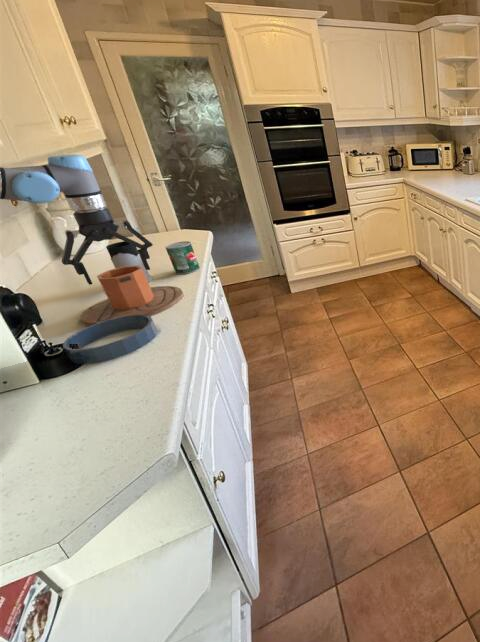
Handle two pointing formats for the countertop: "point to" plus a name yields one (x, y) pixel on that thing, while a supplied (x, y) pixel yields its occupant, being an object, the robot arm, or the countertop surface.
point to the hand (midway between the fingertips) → (120, 275)
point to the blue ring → (115, 347)
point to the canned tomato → (182, 257)
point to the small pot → (126, 287)
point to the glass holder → (126, 256)
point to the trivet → (161, 302)
